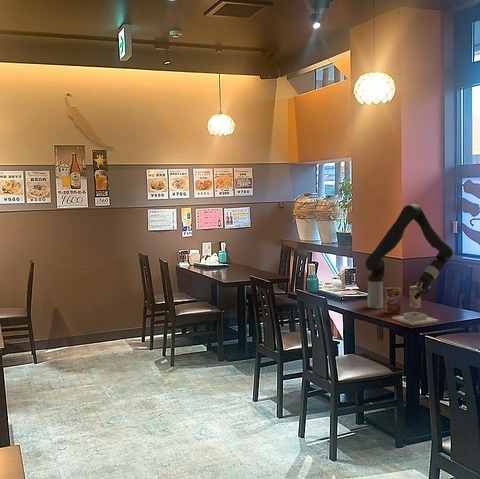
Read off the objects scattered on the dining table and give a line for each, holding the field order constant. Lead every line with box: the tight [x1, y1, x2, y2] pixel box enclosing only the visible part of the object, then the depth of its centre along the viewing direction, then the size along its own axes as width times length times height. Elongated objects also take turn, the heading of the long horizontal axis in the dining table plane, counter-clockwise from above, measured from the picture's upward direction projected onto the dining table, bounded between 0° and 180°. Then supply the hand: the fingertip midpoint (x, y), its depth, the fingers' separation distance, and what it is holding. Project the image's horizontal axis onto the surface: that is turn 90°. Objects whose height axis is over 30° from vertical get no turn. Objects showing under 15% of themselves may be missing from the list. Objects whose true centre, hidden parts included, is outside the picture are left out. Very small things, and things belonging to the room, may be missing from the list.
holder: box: [391, 311, 439, 326], centre depth 332 cm, size 18×18×4 cm
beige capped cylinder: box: [409, 285, 422, 309], centre depth 331 cm, size 4×4×12 cm
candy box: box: [384, 287, 402, 314], centre depth 355 cm, size 9×4×15 cm, turn 81°
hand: (412, 297), depth 330 cm, fingers closed on beige capped cylinder, 4 cm apart
